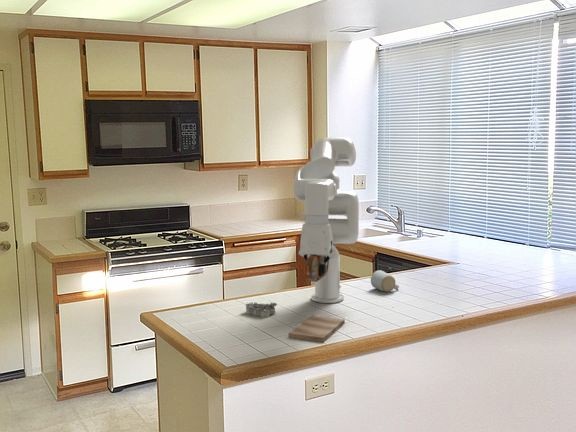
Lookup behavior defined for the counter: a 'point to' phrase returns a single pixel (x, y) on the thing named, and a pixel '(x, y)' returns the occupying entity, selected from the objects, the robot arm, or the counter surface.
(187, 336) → the counter surface
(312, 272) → the tin
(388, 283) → the ceramic mug
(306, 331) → the walnut board
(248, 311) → the egg carton
